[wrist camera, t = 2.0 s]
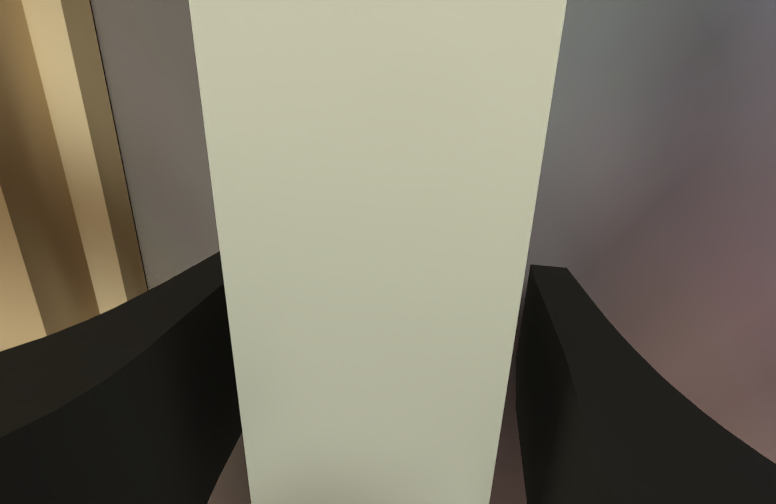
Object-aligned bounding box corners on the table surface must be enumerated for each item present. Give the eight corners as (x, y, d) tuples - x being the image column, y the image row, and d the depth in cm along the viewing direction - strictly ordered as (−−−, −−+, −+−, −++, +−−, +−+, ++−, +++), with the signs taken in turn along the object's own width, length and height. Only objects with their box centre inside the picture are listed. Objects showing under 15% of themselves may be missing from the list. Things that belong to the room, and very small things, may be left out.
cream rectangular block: (470, 472, 16) (459, 692, 11) (332, 453, 16) (270, 659, 12) (540, -74, 10) (574, -48, 5) (317, -81, 10) (181, -64, 6)
